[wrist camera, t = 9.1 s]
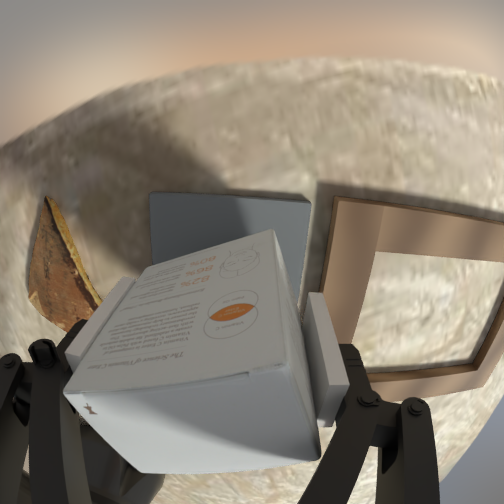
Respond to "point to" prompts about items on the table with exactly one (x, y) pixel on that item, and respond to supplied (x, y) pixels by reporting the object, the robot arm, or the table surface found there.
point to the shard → (59, 273)
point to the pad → (227, 225)
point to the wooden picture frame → (407, 242)
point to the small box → (204, 366)
